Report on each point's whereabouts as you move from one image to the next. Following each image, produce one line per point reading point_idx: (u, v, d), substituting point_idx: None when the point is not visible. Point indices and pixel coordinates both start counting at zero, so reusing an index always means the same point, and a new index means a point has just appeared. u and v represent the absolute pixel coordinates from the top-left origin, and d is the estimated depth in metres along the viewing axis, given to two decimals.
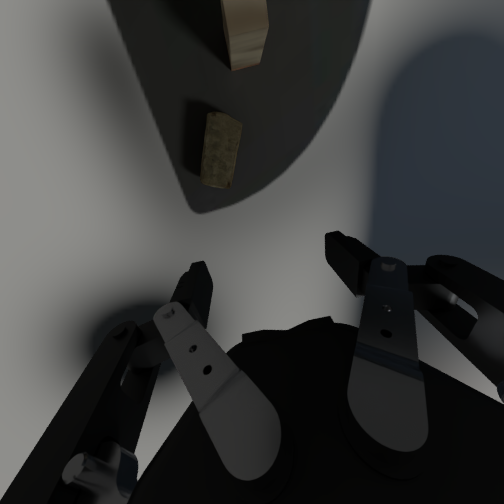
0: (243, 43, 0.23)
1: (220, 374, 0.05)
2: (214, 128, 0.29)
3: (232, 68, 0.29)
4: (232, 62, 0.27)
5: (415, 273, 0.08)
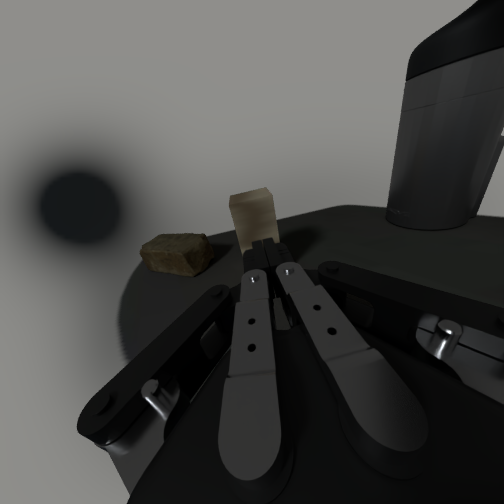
0: None
1: (258, 360, 0.05)
2: (190, 236, 0.29)
3: None
4: None
5: (311, 277, 0.09)
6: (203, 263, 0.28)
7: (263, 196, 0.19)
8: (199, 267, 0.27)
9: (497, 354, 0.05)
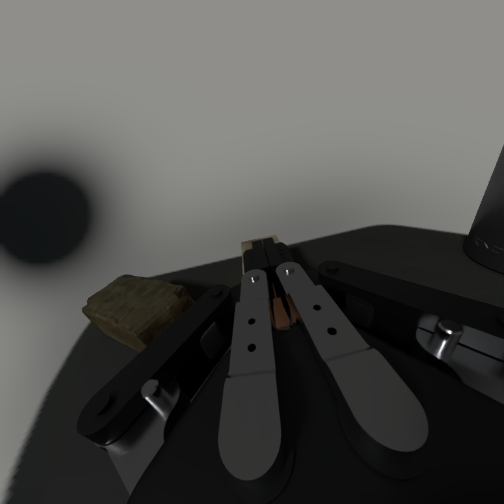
0: None
1: (258, 360, 0.05)
2: (160, 290, 0.18)
3: None
4: None
5: (311, 277, 0.09)
6: None
7: None
8: None
9: (497, 354, 0.05)
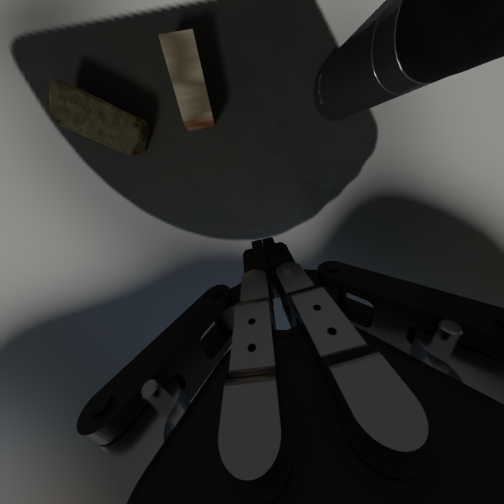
0: None
1: (258, 360, 0.05)
2: (120, 120, 0.27)
3: None
4: None
5: (311, 277, 0.09)
6: (145, 145, 0.31)
7: None
8: (143, 150, 0.32)
9: (497, 354, 0.05)
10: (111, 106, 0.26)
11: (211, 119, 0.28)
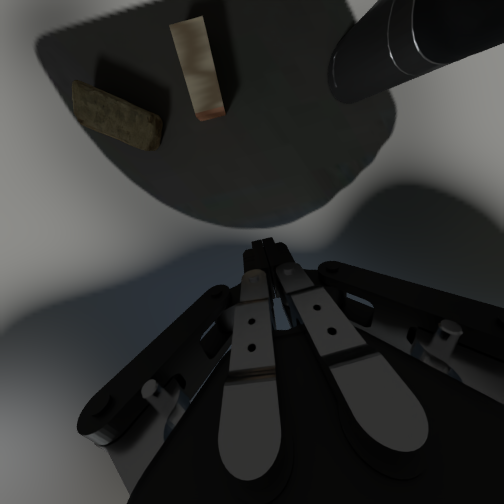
0: None
1: (258, 360, 0.05)
2: (136, 117, 0.28)
3: None
4: None
5: (311, 277, 0.09)
6: (159, 140, 0.33)
7: None
8: (158, 144, 0.33)
9: (497, 354, 0.05)
10: (127, 104, 0.28)
11: (222, 109, 0.29)
